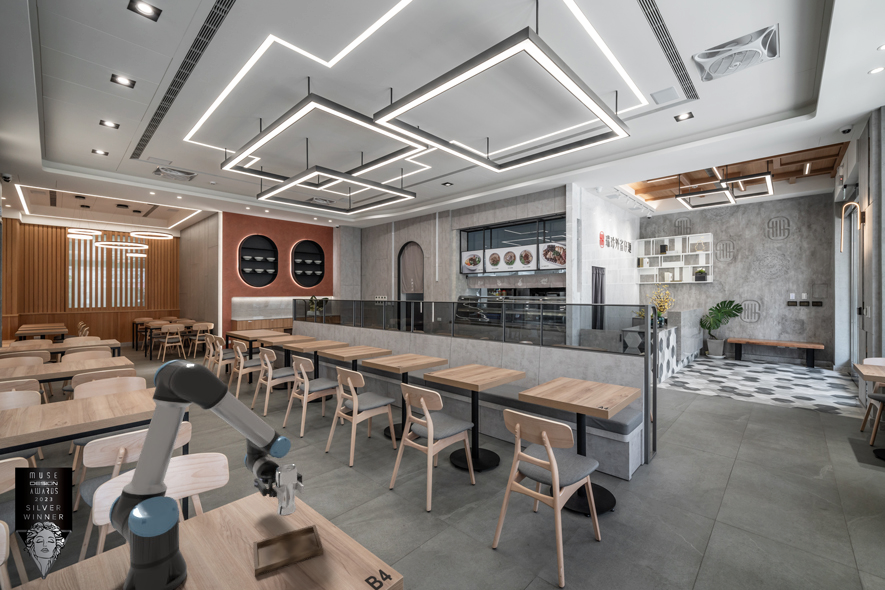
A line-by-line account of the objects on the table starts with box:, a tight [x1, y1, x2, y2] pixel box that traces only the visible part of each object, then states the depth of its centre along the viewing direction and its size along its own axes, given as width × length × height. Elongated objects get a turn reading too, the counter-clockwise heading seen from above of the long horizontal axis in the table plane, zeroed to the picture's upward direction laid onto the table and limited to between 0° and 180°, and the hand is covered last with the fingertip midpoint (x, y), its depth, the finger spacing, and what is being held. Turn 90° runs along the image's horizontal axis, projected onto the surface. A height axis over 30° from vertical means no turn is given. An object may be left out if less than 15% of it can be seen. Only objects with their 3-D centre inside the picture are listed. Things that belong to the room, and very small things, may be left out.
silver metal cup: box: [274, 463, 298, 517], centre depth 133 cm, size 7×7×15 cm
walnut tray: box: [252, 524, 324, 577], centre depth 127 cm, size 20×14×2 cm
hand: (292, 493), depth 129 cm, fingers closed on silver metal cup, 6 cm apart
